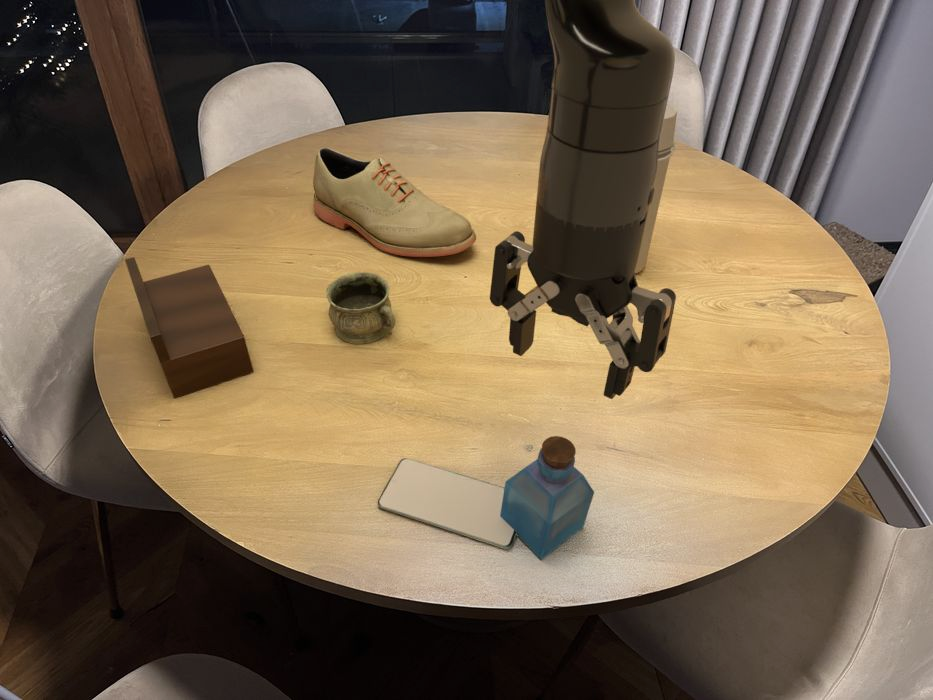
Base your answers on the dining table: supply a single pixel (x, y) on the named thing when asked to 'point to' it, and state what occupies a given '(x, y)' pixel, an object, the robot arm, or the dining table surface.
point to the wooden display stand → (191, 328)
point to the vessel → (360, 307)
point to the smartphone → (448, 502)
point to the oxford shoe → (385, 207)
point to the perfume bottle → (547, 498)
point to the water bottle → (658, 181)
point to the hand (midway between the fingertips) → (566, 370)
